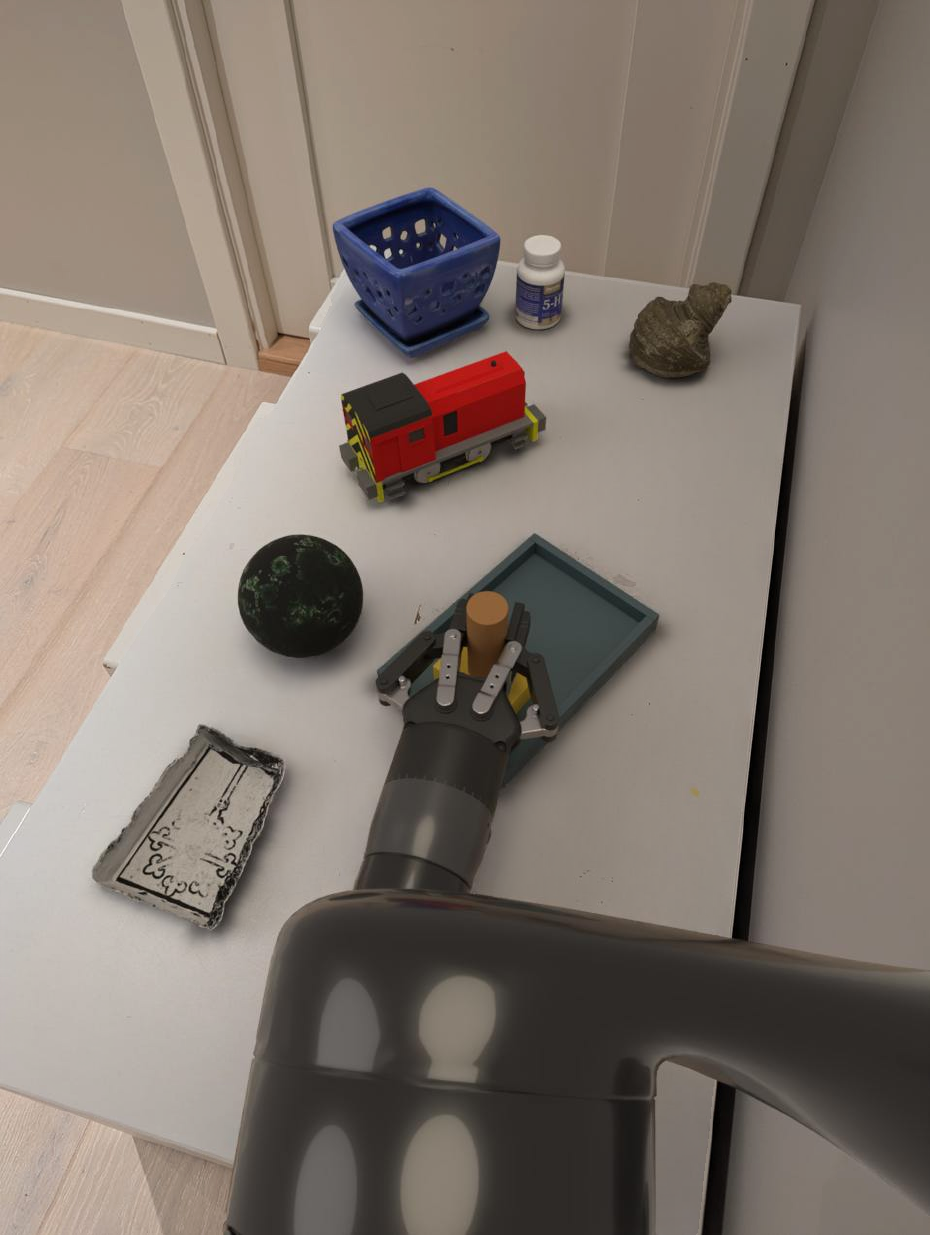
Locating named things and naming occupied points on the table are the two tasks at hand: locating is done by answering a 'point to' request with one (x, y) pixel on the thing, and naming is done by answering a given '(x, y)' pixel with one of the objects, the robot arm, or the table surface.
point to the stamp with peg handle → (488, 643)
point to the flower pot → (419, 269)
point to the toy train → (434, 423)
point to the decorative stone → (300, 596)
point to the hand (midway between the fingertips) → (496, 605)
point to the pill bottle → (540, 283)
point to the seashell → (678, 331)
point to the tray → (559, 628)
